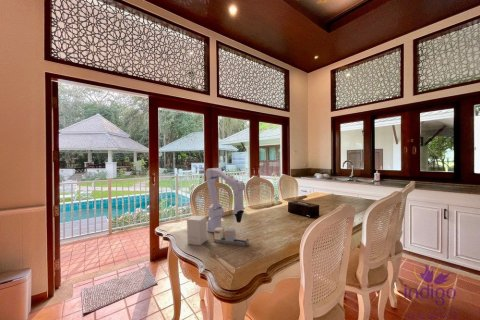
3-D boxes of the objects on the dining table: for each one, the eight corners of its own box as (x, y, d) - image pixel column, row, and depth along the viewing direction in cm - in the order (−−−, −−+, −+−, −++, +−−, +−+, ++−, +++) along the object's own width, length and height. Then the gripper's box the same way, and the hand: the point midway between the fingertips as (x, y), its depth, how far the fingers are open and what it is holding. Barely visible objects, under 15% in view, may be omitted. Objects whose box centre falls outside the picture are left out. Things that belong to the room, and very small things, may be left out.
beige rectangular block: (214, 239, 126) (214, 229, 126) (217, 236, 130) (217, 227, 130) (220, 240, 125) (220, 230, 125) (223, 237, 129) (222, 227, 129)
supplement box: (207, 239, 130) (207, 216, 130) (200, 245, 122) (199, 220, 122) (194, 238, 133) (194, 215, 133) (187, 243, 125) (186, 219, 125)
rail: (213, 242, 126) (213, 237, 126) (216, 239, 130) (216, 234, 130) (246, 246, 120) (246, 241, 120) (248, 243, 124) (248, 238, 124)
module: (225, 240, 124) (225, 230, 124) (227, 237, 128) (227, 228, 128) (233, 241, 122) (232, 231, 122) (235, 238, 126) (235, 229, 126)
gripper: (241, 203, 123) (241, 226, 123) (247, 198, 137) (248, 219, 137) (229, 203, 125) (230, 225, 126) (237, 198, 139) (238, 218, 139)
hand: (238, 222), depth 132 cm, fingers closed
